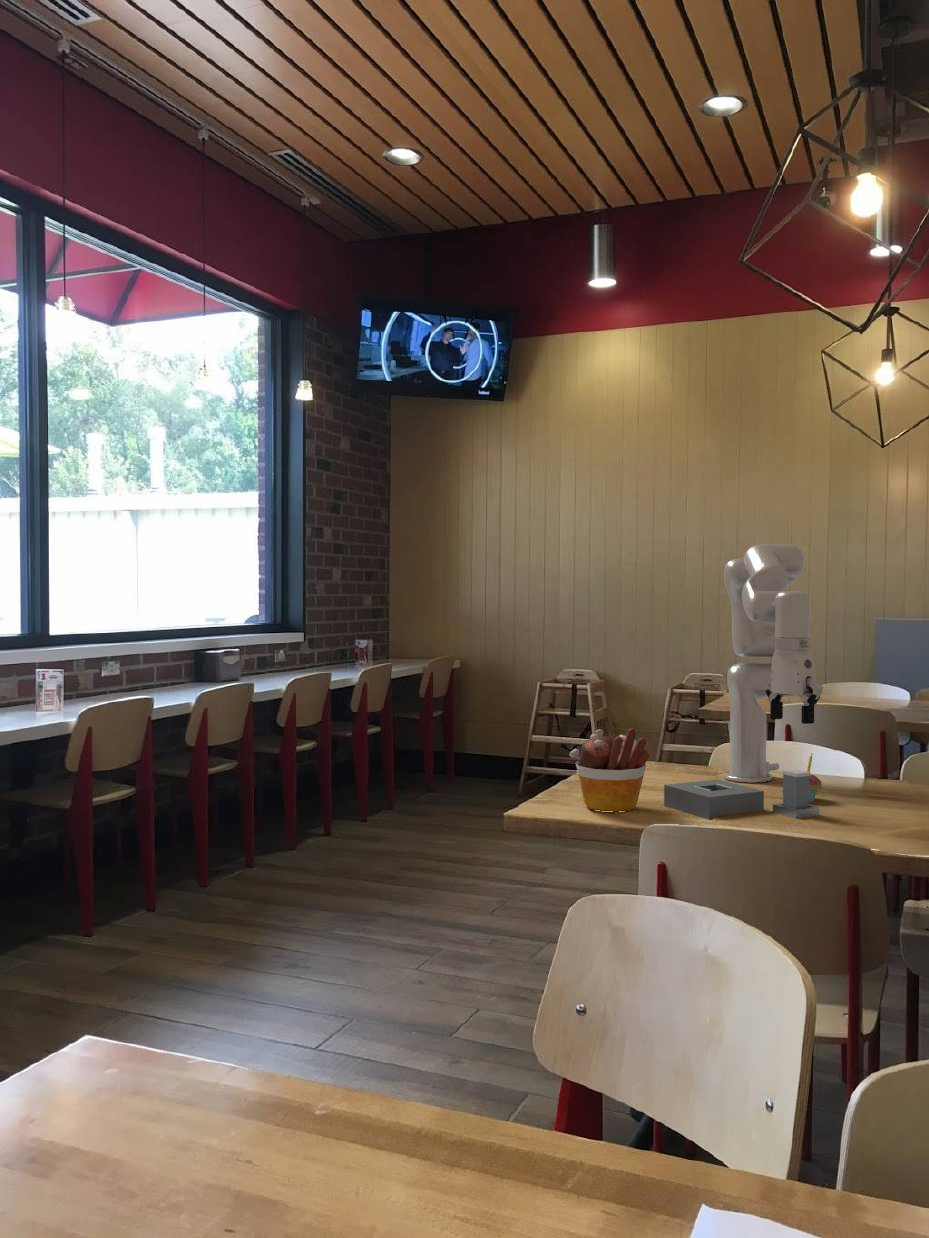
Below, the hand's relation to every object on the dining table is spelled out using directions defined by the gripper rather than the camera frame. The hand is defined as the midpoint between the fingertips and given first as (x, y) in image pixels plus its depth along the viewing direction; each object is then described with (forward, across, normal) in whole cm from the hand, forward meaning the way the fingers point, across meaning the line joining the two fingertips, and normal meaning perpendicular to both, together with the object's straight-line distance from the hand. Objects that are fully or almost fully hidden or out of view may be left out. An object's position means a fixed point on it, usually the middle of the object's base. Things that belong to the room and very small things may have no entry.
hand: (791, 721), depth 227 cm
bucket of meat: (+22, +24, +33) cm, 46 cm away
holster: (+22, -1, 0) cm, 22 cm away
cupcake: (+21, +10, -13) cm, 27 cm away
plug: (+21, -1, 0) cm, 21 cm away
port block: (+21, +13, +12) cm, 28 cm away
